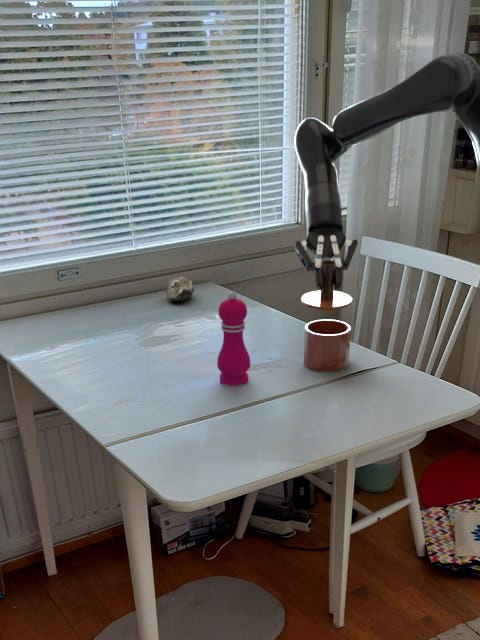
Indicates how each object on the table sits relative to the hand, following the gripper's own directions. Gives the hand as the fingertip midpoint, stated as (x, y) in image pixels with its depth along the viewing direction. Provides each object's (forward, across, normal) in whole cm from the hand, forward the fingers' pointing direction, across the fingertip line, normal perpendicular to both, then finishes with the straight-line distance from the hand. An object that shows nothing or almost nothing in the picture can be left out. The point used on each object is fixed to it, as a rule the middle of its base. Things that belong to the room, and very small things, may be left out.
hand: (329, 287), depth 162 cm
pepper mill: (+15, -20, +14) cm, 29 cm away
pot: (+9, +2, +20) cm, 22 cm away
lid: (+1, 0, +4) cm, 4 cm away
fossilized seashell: (-26, -32, +56) cm, 69 cm away
